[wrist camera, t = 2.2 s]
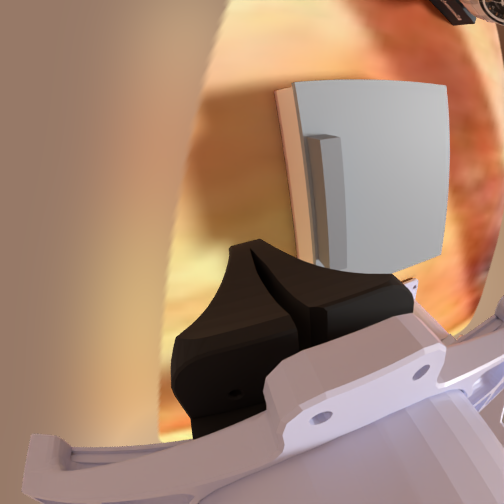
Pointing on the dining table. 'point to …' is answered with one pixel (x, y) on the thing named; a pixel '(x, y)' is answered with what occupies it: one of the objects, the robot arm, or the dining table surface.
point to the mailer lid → (374, 171)
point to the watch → (471, 10)
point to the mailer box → (295, 172)
